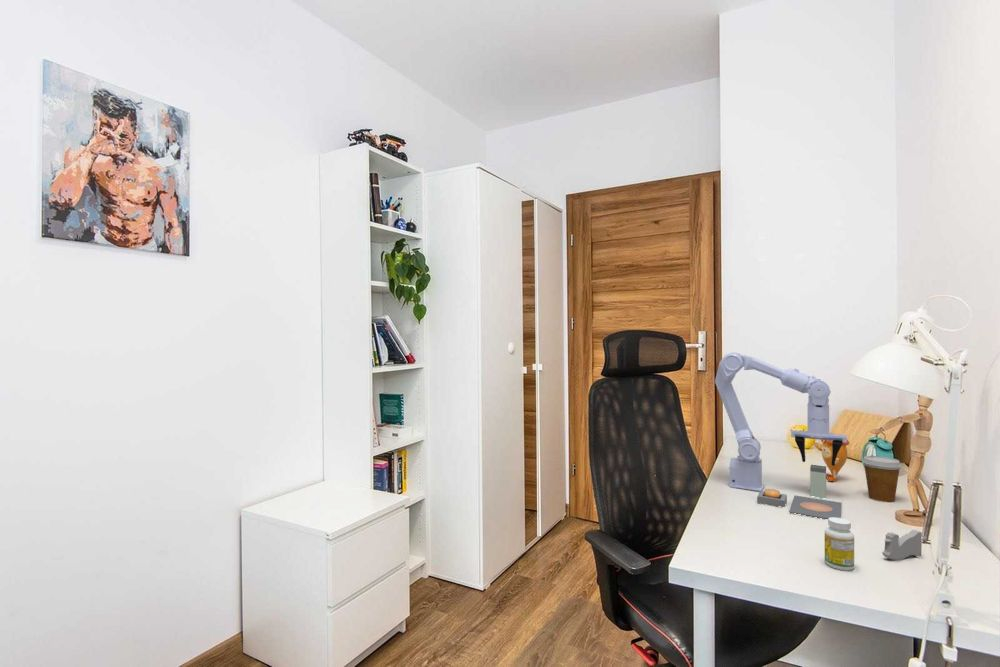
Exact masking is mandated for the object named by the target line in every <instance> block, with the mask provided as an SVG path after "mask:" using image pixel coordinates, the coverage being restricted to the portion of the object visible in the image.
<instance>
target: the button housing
mask: <svg viewBox="0 0 1000 667" xmlns="http://www.w3.org/2000/svg"><path fill="white" fill-rule="evenodd" d="M756 501H757V504H759V503H761V504H760V505H765V504H767V505H766V506H771V505H774V506H773V507H777V506H781V507H780V508H783V507H786V505H787V501H788V495H787V494H786V493H780V499H777V498H771V497H765V490H762V491H759V492H758V495H757V500H756ZM785 504H786V505H785Z"/></svg>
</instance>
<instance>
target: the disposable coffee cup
mask: <svg viewBox="0 0 1000 667" xmlns="http://www.w3.org/2000/svg"><path fill="white" fill-rule="evenodd" d="M862 463H863V464H862V465H863V466H864V472H865V480H866V485H867V491H868V492H867V493H868V498H869V499H872V500H876V501H879V502H886V503H891V502H895V501H896V494H897V487H898V482H899V481H898V480H899V477H900V476H899V474H900V469H901V468H902V464H901V462H900V460H899V459H896V458H892V457H886V456H879V455H878V456H877V455H866V456H864V457H863V460H862Z"/></svg>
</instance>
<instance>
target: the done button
mask: <svg viewBox="0 0 1000 667" xmlns="http://www.w3.org/2000/svg"><path fill="white" fill-rule="evenodd" d="M764 491H765V497H771V498H777V499H780V494H781V492H780V491H779V490H777V489H773V488H766V489H764Z"/></svg>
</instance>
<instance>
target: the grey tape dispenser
mask: <svg viewBox="0 0 1000 667" xmlns="http://www.w3.org/2000/svg"><path fill="white" fill-rule="evenodd" d="M921 537H922V538H923V532H922V531H919V530H917V529H911V531H909V532H908V533H906V534H904V535H902V536H900V537H899V534H897V533H894V532H887V533H886V534H885V539H884V550H883V551H882V556H884V557H885V558H887V559H888V560H889V559H890V560H892V561H901V560H905V559H906V558H908V557H910V556H914V555H915V556H914V557H916V556H921V557H922V550H923V548H922V547H923V546H922V545H923V544H922V541H921Z"/></svg>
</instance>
